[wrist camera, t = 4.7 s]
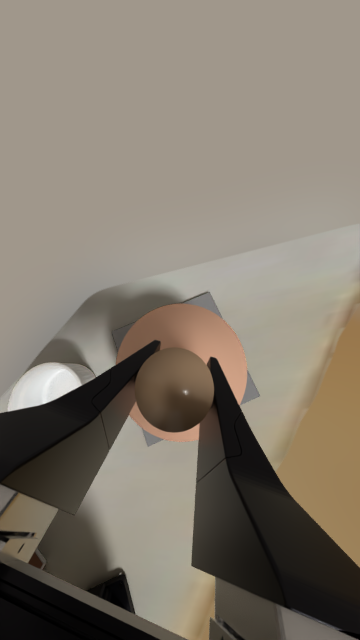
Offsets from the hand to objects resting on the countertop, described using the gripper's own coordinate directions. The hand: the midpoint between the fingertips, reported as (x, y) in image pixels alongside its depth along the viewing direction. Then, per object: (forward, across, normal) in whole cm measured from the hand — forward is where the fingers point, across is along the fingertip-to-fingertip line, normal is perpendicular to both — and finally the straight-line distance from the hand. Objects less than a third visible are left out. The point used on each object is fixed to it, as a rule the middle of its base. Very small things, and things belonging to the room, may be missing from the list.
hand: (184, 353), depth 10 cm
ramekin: (+2, +14, +16) cm, 21 cm away
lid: (+4, 0, +6) cm, 7 cm away
